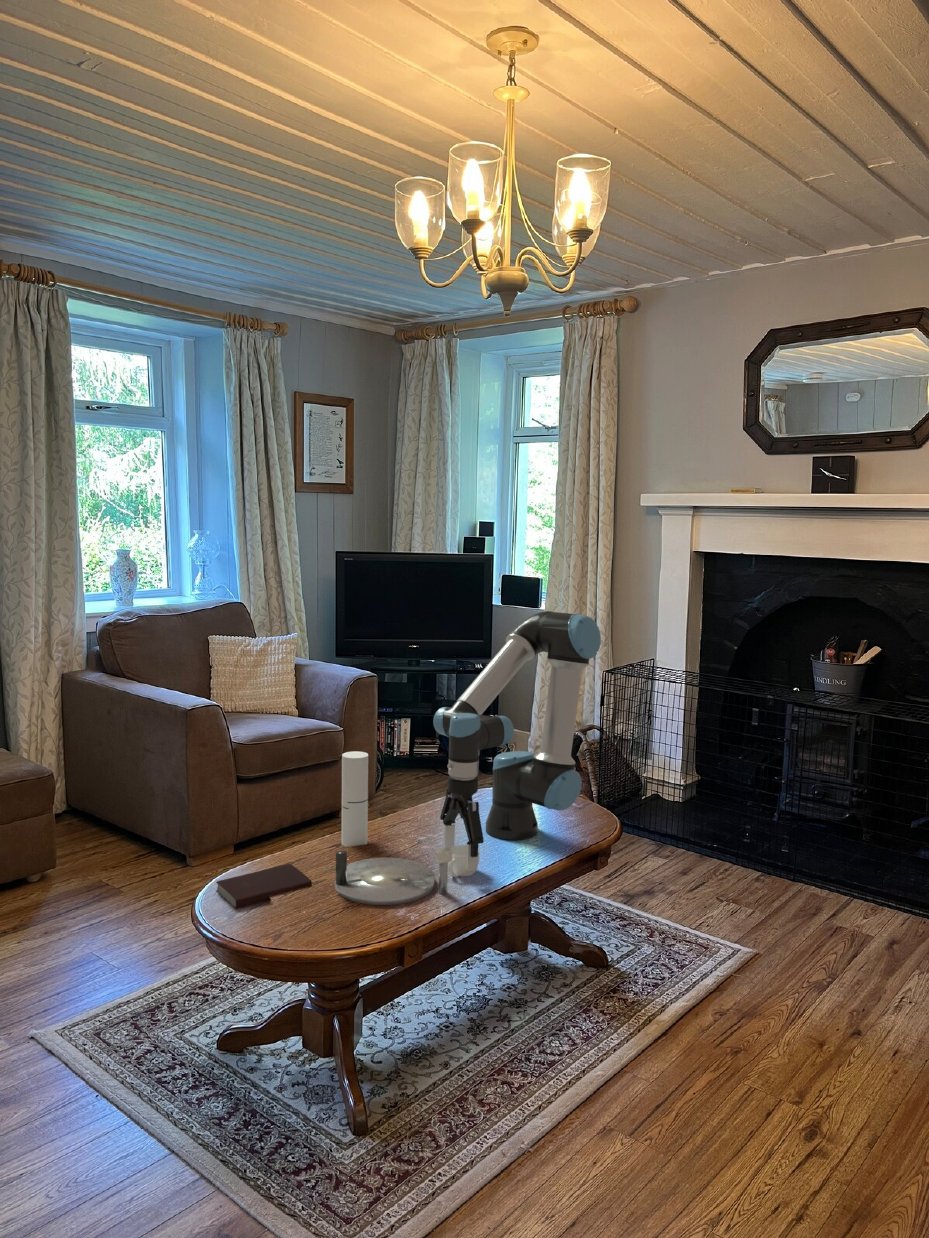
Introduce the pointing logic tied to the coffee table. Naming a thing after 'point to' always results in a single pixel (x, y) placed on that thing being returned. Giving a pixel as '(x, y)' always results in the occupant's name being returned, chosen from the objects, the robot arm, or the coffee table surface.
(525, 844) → the coffee table surface
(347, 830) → the cylindrical container
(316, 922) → the coffee table surface
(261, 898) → the book
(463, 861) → the cup
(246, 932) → the coffee table surface
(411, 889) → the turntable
